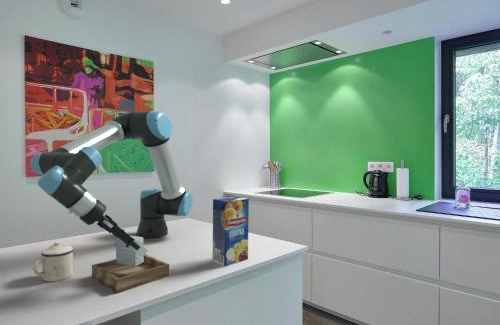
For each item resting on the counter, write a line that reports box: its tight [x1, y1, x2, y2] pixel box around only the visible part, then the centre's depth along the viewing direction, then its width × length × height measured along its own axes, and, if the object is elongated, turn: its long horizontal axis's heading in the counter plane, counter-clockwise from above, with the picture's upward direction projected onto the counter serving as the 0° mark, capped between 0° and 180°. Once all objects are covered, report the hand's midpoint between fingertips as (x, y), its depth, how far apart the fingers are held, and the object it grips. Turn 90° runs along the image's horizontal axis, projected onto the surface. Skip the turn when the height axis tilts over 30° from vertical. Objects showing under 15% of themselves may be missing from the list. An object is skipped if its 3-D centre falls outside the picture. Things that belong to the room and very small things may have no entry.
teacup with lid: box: [32, 240, 74, 282], centre depth 103 cm, size 12×9×12 cm
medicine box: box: [115, 235, 145, 266], centre depth 105 cm, size 8×4×9 cm, turn 71°
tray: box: [91, 253, 170, 294], centre depth 106 cm, size 18×18×4 cm
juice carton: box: [212, 196, 250, 267], centre depth 122 cm, size 12×8×24 cm, turn 134°
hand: (139, 250), depth 107 cm, fingers closed on medicine box, 9 cm apart
